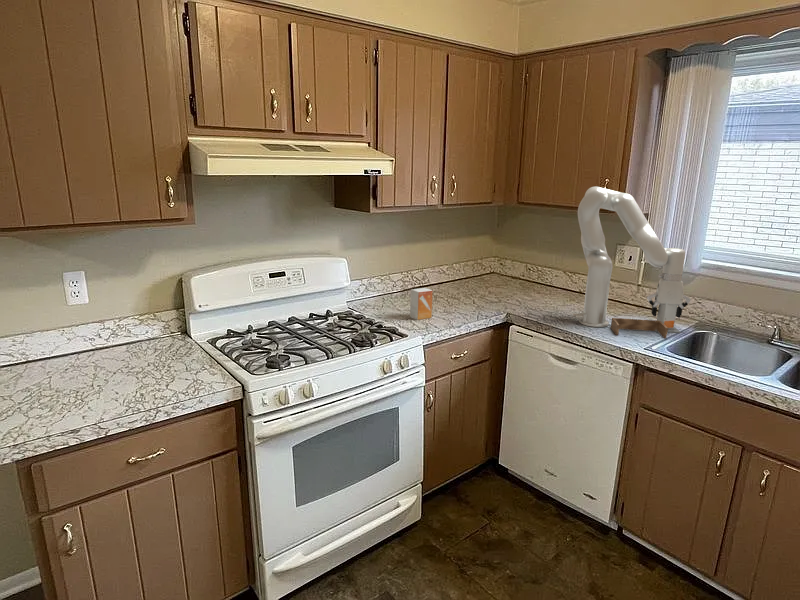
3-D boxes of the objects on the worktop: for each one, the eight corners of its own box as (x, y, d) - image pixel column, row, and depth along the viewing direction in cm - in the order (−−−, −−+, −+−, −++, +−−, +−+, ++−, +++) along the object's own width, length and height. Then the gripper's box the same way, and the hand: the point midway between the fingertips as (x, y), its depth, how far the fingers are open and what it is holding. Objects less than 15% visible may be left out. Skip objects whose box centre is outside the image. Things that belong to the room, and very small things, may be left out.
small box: (417, 320, 233) (418, 292, 230) (409, 317, 239) (410, 289, 235) (432, 317, 238) (433, 290, 235) (423, 314, 243) (424, 287, 240)
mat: (655, 331, 223) (655, 330, 223) (648, 325, 232) (648, 323, 232) (680, 333, 221) (680, 331, 221) (672, 326, 231) (672, 325, 231)
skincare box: (662, 329, 224) (666, 302, 221) (655, 326, 228) (659, 300, 225) (674, 328, 225) (678, 302, 222) (667, 326, 229) (671, 299, 226)
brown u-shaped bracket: (616, 335, 217) (617, 324, 216) (610, 327, 227) (611, 317, 226) (666, 338, 214) (668, 327, 213) (658, 330, 224) (659, 320, 223)
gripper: (652, 278, 219) (647, 317, 223) (696, 280, 216) (690, 319, 220) (647, 274, 226) (642, 312, 230) (690, 276, 223) (684, 315, 228)
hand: (665, 316), depth 225 cm, fingers open, 9 cm apart
